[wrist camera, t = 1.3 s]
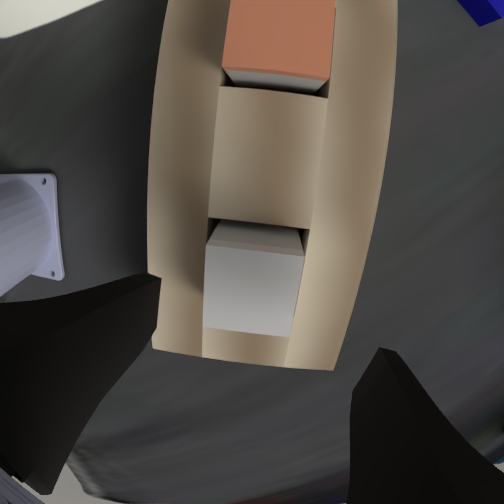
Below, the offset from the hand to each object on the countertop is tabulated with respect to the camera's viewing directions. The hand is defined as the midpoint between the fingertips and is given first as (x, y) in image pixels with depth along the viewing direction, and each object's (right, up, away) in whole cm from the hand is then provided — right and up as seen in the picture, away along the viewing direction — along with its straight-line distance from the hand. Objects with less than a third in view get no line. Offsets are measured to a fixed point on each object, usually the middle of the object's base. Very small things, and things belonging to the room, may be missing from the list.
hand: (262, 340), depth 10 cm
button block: (+1, +8, +8) cm, 11 cm away
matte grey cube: (0, +3, +7) cm, 8 cm away
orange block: (+1, +12, +3) cm, 13 cm away
